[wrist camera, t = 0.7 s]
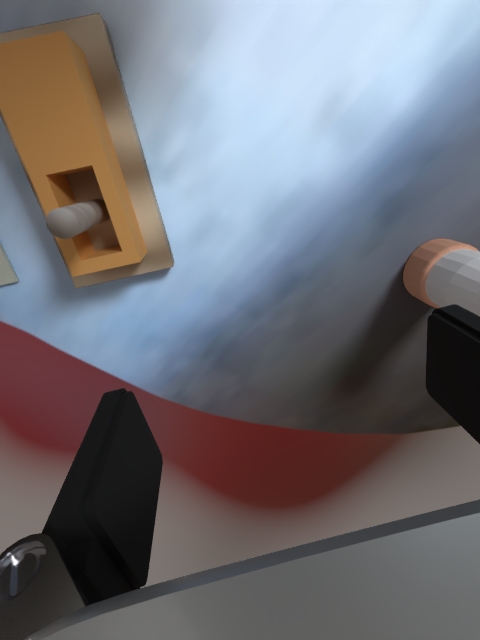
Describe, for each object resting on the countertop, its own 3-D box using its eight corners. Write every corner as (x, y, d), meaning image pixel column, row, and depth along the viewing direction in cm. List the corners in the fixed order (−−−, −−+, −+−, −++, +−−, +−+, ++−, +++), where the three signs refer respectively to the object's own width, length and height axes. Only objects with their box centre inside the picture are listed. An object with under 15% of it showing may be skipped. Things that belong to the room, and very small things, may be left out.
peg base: (-17, 49, 26) (-152, -29, 16) (106, 24, 26) (47, -69, 16) (82, 282, 34) (33, 326, 24) (174, 262, 35) (163, 297, 25)
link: (147, 251, 32) (140, 262, 28) (87, 265, 32) (72, 276, 28) (83, 51, 25) (63, 30, 22) (7, 66, 25) (-26, 48, 21)
